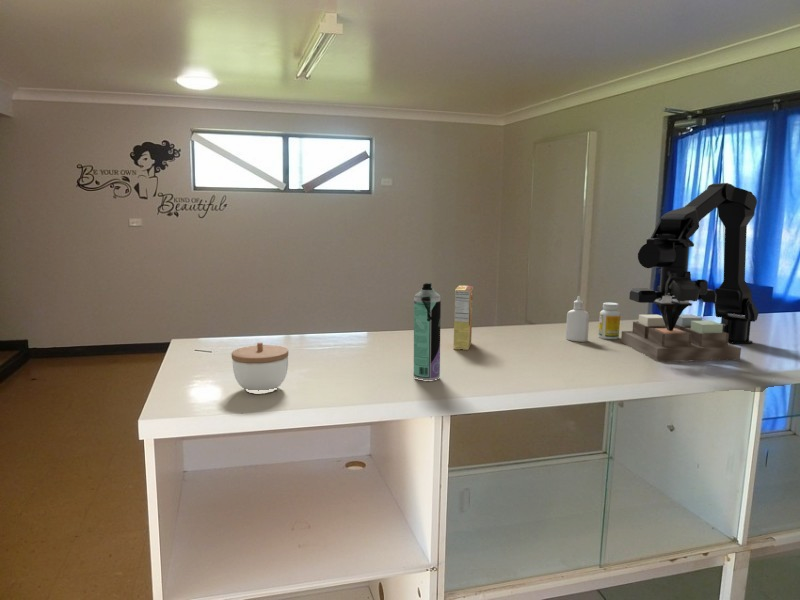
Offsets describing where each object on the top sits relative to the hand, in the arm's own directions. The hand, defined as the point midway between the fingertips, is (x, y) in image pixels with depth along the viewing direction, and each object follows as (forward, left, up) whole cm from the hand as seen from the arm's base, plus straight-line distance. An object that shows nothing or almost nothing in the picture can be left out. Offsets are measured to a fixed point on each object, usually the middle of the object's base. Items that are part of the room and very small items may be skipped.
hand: (669, 330), depth 142 cm
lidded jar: (+94, +25, -6) cm, 97 cm away
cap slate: (-9, -9, -1) cm, 13 cm away
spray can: (+61, +18, -6) cm, 63 cm away
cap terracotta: (0, 0, -3) cm, 3 cm away
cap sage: (-9, 0, -1) cm, 9 cm away
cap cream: (0, -9, -1) cm, 9 cm away
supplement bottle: (+7, -20, -6) cm, 22 cm away
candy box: (+49, -11, -6) cm, 50 cm away
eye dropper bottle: (+17, -17, -6) cm, 25 cm away
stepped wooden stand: (-4, -4, -6) cm, 9 cm away
